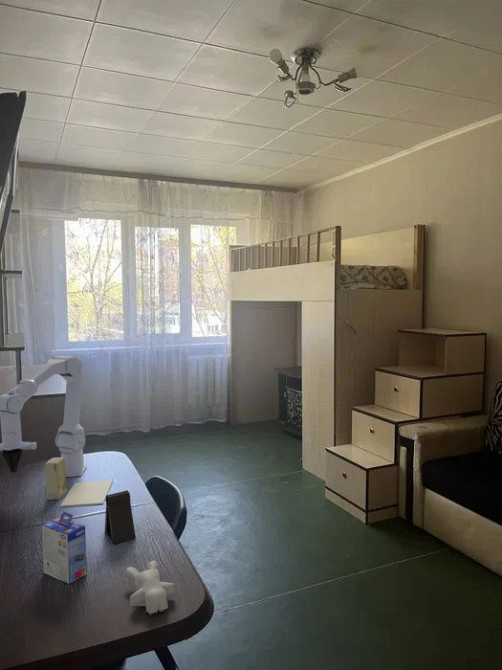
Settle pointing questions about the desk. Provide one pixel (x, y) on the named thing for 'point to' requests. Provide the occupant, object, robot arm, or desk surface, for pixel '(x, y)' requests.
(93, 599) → the desk surface
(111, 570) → the desk surface
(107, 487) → the mat
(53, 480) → the skincare box
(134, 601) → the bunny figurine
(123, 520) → the phone stand
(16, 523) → the desk surface
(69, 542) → the ink cartridge box
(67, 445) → the robot arm
